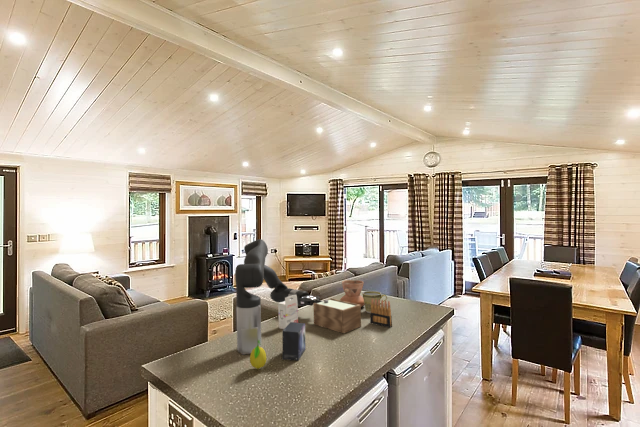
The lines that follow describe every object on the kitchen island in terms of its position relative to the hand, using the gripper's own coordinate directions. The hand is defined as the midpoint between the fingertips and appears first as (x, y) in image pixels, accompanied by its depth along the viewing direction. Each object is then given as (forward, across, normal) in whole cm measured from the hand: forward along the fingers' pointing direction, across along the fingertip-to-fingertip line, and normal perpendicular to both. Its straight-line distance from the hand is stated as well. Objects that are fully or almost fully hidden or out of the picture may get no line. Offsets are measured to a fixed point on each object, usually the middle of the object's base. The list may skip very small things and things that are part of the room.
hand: (322, 303), depth 163 cm
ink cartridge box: (-6, -16, +9) cm, 20 cm away
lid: (+9, 0, 0) cm, 9 cm away
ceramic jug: (-5, +31, +9) cm, 32 cm away
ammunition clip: (+24, +14, +9) cm, 30 cm away
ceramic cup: (+10, +30, +9) cm, 32 cm away
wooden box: (+9, 0, +9) cm, 13 cm away
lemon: (+19, -51, +9) cm, 56 cm away
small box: (+20, -35, +9) cm, 41 cm away
